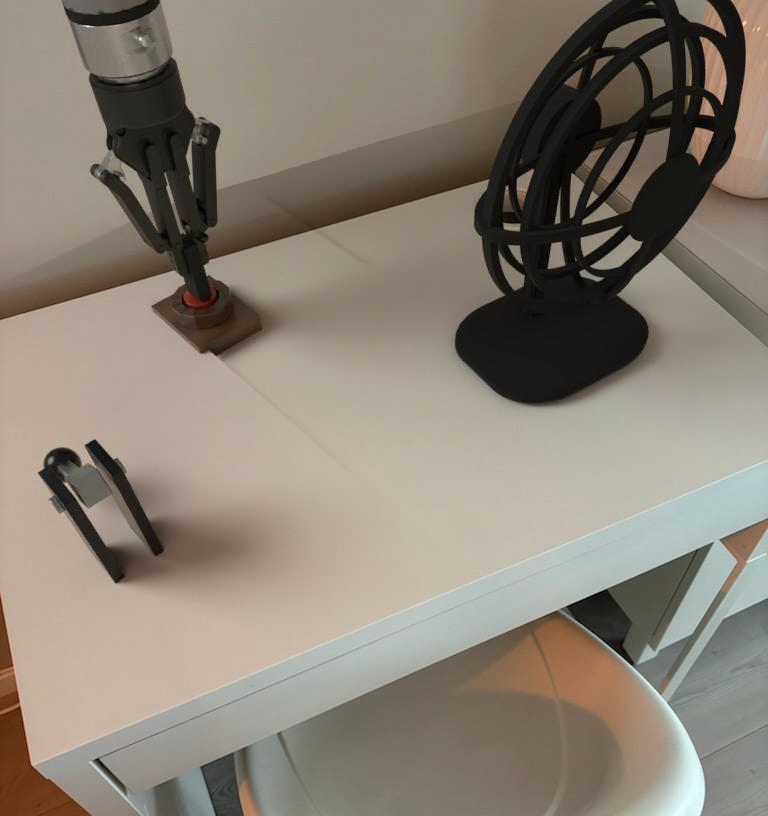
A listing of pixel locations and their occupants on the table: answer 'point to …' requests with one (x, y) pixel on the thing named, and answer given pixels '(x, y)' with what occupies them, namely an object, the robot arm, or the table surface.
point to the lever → (78, 475)
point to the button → (196, 304)
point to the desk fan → (553, 165)
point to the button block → (210, 319)
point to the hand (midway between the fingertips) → (199, 292)
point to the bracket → (124, 498)
